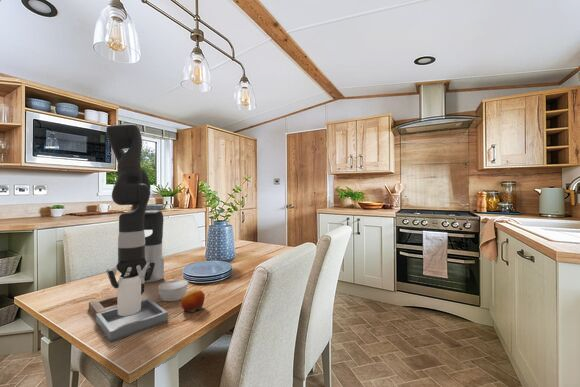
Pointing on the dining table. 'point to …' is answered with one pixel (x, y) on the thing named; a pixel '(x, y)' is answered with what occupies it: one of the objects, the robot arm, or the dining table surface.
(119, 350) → the dining table surface
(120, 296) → the can
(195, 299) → the fruit
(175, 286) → the ramekin
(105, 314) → the tray
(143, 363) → the dining table surface
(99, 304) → the square wooden frame
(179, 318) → the dining table surface
